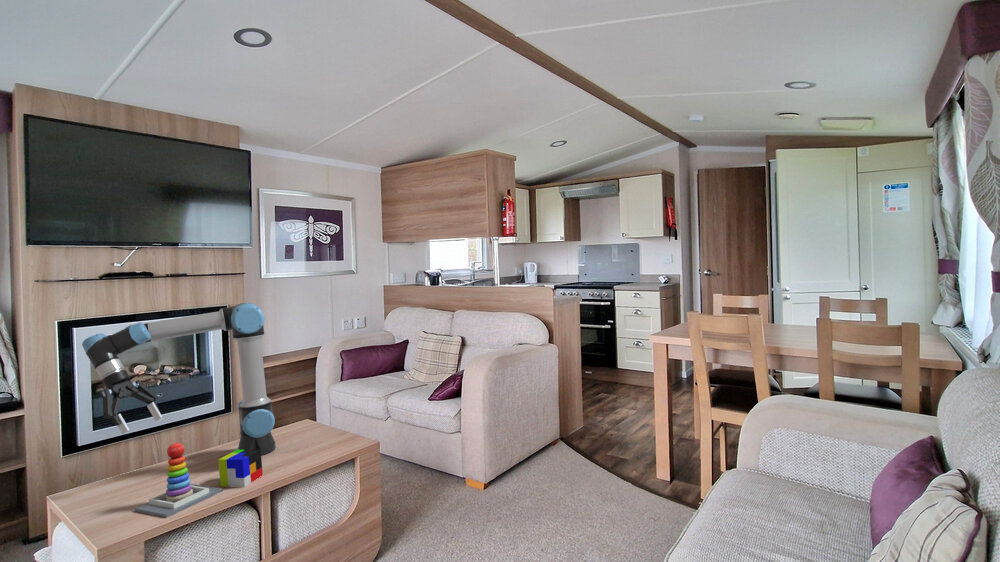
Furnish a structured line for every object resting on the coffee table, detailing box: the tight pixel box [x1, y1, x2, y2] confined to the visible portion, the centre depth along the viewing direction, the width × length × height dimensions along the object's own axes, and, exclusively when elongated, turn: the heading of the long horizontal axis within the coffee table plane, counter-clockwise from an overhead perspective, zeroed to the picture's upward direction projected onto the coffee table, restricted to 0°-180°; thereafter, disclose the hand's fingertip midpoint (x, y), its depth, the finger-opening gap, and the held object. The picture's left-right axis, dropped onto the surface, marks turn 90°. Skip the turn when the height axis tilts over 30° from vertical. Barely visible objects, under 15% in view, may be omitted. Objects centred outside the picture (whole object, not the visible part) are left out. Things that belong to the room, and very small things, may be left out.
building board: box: [134, 483, 223, 519], centre depth 178 cm, size 20×16×2 cm
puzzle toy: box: [217, 449, 264, 488], centre depth 193 cm, size 10×10×10 cm
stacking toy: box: [165, 442, 193, 502], centre depth 178 cm, size 8×8×19 cm
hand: (143, 425), depth 186 cm, fingers open, 13 cm apart
